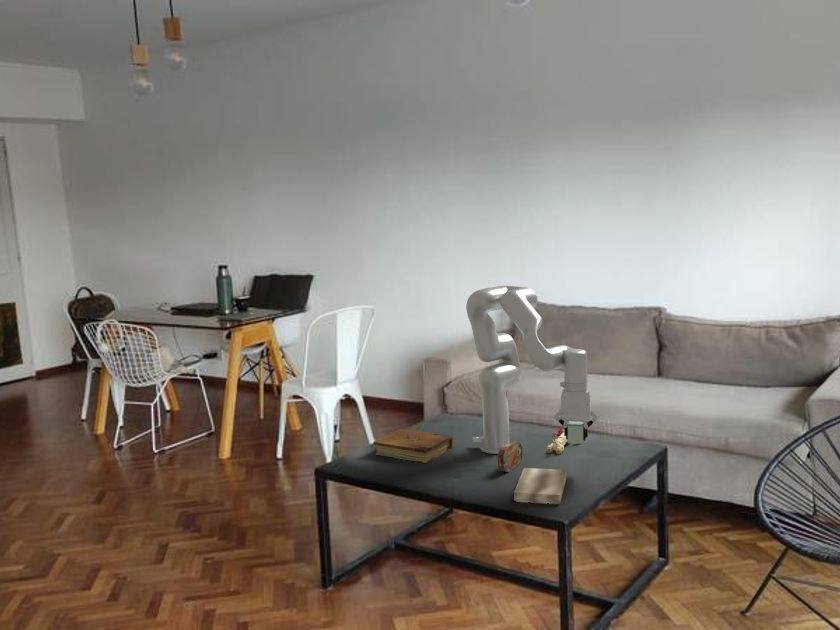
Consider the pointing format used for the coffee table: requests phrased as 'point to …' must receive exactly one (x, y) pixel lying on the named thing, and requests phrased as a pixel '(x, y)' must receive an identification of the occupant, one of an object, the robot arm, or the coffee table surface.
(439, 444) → the diary
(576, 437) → the block
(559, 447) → the cream elongated piece
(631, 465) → the coffee table surface
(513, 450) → the tin
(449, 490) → the coffee table surface
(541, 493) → the base block
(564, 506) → the coffee table surface
